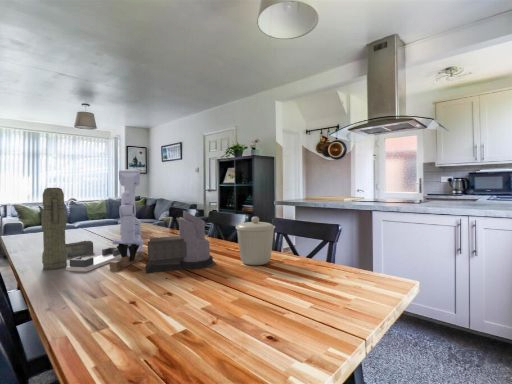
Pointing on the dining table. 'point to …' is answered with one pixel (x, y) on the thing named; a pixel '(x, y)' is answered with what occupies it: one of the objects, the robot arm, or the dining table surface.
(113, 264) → the walnut slat
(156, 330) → the dining table surface
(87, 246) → the dark grey stone block
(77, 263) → the end cap cradle
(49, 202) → the olive stone pillar
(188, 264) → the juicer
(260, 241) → the canister
